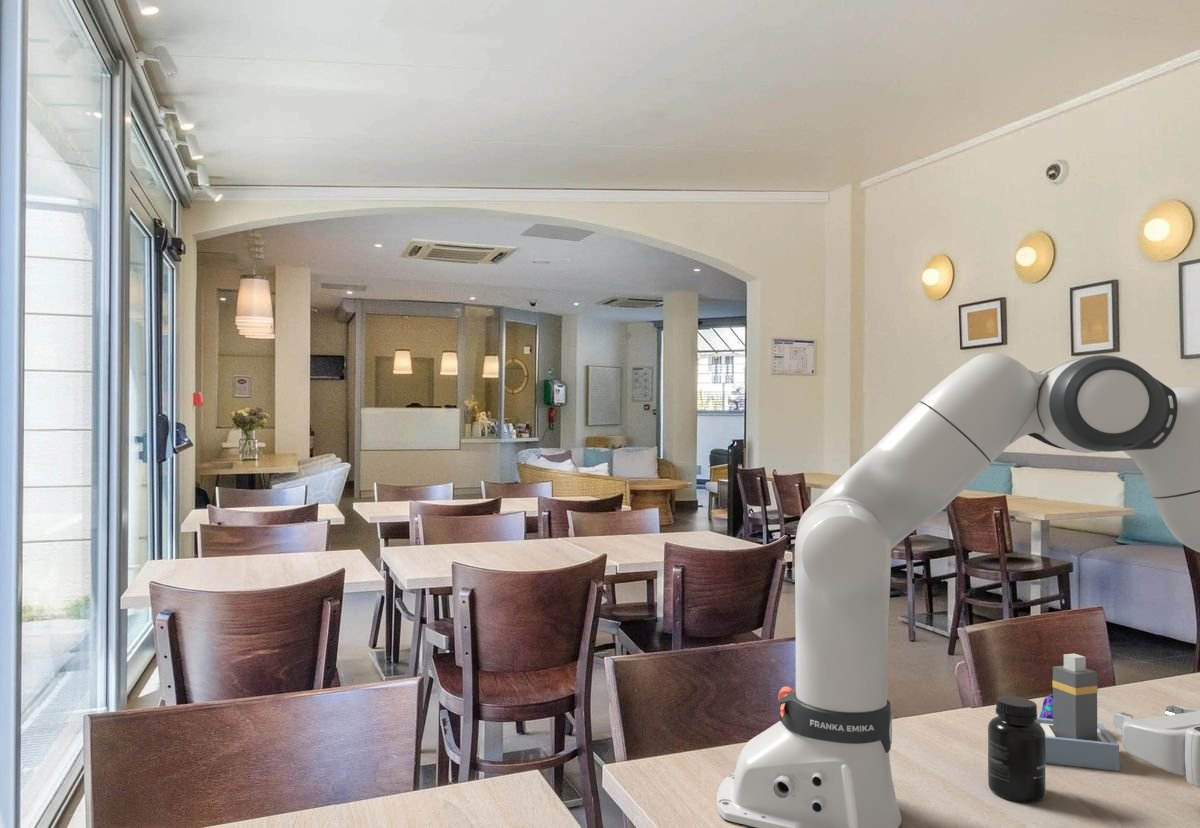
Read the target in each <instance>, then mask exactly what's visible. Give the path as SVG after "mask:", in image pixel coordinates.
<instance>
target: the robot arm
mask: <svg viewBox="0 0 1200 828" xmlns="http://www.w3.org/2000/svg"><path fill="white" fill-rule="evenodd" d="M1025 436H1029V437H1031V438H1033V439H1034V440H1038V441H1039V442H1042V443H1043V444H1046V445H1047V446H1051V447H1053V448H1056V449H1060V450H1066V451H1071V452H1075V453H1079V454H1081V453H1082V454H1083V453H1085V454H1090V453H1091V454H1092V453H1101V452H1104V453H1106V452H1107V453H1108V452H1109V453H1110V452H1111V453H1112V452H1114V453H1115V452H1124V453H1125V454H1126V455H1127V456H1129V457H1130V458H1131V460H1132V461H1133V462H1134V463H1135V464H1136V466H1137V467H1138V468H1139V470H1140V471H1142V475H1143V477H1144V480H1145V483H1146V485H1147V488H1148V490H1149V493H1150V494H1151V496H1152V499H1153V501H1154V504H1155V506H1156V509H1157V511H1158V513H1159V515H1160V517H1161V518H1162V521H1163V523H1164V525H1165V526H1166V527H1167V529H1168V531H1170V533H1171V534H1172V535H1173V537H1174V538H1175V539H1176V540H1177V541H1178V542H1179V543H1181V544H1182V545H1184V546H1185V547H1187V548H1190V549H1191V550H1193V551H1195V552H1197V553H1200V387H1199V386H1189V385H1188V386H1186V385H1185V386H1177V387H1169V386H1168V385H1166V384H1164V383H1163V382H1161V381H1160V380H1159V379H1157V378H1155V377H1154V376H1152V375H1151V374H1150V373H1149V372H1148V371H1147V370H1145V369H1144V368H1143V367H1141V366H1140V365H1138V364H1137V363H1135V362H1133V361H1131V360H1128V359H1126V358H1122V357H1119V356H1113V355H1104V354H1100V355H1092V356H1088V357H1084V358H1076V359H1072V360H1068V361H1066V362H1063V363H1061V364H1058V365H1055V366H1052V367H1050V368H1047V369H1045V370H1042V371H1039V372H1036V371H1033V370H1031V369H1028V367H1026V366H1025V365H1024V364H1022V362H1020V361H1019V360H1017V359H1015V358H1013V357H1011V356H1009V355H1005V354H1002V353H998V352H986V353H985V352H984V353H980V354H978V355H976V356H974V357H973V358H971V359H969V360H968V361H967V362H965V363H964V364H962V365H961V366H959V367H958V368H957V369H955V370H954V371H953V372H951V373H949V375H947V376H946V377H945V378H944V379H942V380H941V381H940V382H938V384H937V385H935V386H934V387H933V388H931V390H930V391H928V393H927V394H925V395H924V396H923V397H922V398H921V399H920V400H919V402H917V403H916V404H915V405H914V406H913V407H912V408H911V409H910V410H909V411H908V412H907V413H906V414H905V415H904V416H903V417H902V418H901V419H900V420H899V421H898V422H897V423H896V424H895V425H894V426H893V427H892V428H891V429H890V430H889V431H888V432H887V433H886V434H885V435H883V437H881V439H880V440H879V441H878V442H877V443H876V444H875V445H874V446H873V447H872V448H871V449H870V450H869V451H867V453H865V454H864V455H863V456H862V457H860V458H859V460H858V461H856V462H855V463H854V464H853V465H852V466H851V467H849V469H847V471H846V472H845V473H844V474H842V475H841V476H840V477H839V478H837V480H836V481H835V482H834V483H833V484H832V485H831V486H829V488H827V489H826V490H825V491H824V492H823V494H821V495H820V496H819V497H817V499H816V500H815V501H814V502H813V503H812V504H811V505H810V506H808V508H807V509H806V510H805V511H804V512H803V514H801V517H800V519H799V521H798V524H797V529H796V535H795V541H794V542H795V543H794V582H795V583H794V587H795V588H794V590H795V591H794V597H795V598H794V599H795V600H794V602H795V603H794V604H795V606H794V607H795V613H794V614H795V690H793V688H791V687H790V686H783V687H781V689H779V692H778V697H777V699H778V701H779V705H778V717H779V718H778V719H779V721H777V722H776V723H774V724H773V725H770V727H768V728H766V729H765V730H763V731H762V732H761V733H759V734H757V735H756V736H754V737H752V738H751V739H750V740H748V742H747V743H746V744H745V745H744V746H743V747H742V748H741V749H742V750H741V751H740V753H739V755H738V758H737V762H736V766H735V770H734V772H732V773H730V774H728V775H727V776H726V777H725V778H724V779H723V780H722V782H721V783H720V785H719V788H718V789H717V794H716V802H715V804H716V809H717V813H718V814H719V815H720V816H721V818H723V820H726V821H729V822H732V823H736V824H742V825H745V826H749V827H754V828H899V827H900V825H901V824H902V820H903V819H902V813H901V810H900V807H899V804H898V801H897V796H896V792H895V788H894V781H893V774H892V768H891V759H890V757H891V756H890V750H891V747H892V743H893V712H892V707H891V702H890V701H889V700H888V628H889V617H890V616H889V615H890V614H889V613H890V598H891V595H890V594H891V574H892V573H891V572H892V570H891V568H892V549H893V548H895V547H896V546H897V545H898V544H900V543H901V542H902V541H903V540H904V539H905V538H907V537H908V536H909V535H911V534H912V533H913V532H914V531H916V530H918V528H920V527H921V526H922V525H923V524H925V523H926V522H928V521H930V520H931V518H933V517H934V516H936V515H937V514H939V513H941V512H942V511H943V510H944V509H945V508H946V507H947V506H948V505H950V503H952V502H953V500H954V499H955V498H957V497H958V496H959V495H960V494H961V493H962V492H964V490H965V489H967V487H968V486H970V484H971V483H972V482H974V481H975V479H977V477H978V476H980V474H982V472H984V471H985V470H986V469H987V468H988V467H989V466H990V465H991V464H992V463H993V462H994V461H995V460H996V459H997V458H998V457H999V456H1000V455H1001V454H1002V453H1003V452H1004V451H1005V449H1007V448H1008V447H1009V446H1010V445H1012V444H1013V443H1015V442H1016V441H1017V440H1020V439H1021V438H1022V437H1025ZM1165 711H1166V712H1165V715H1161V716H1160V715H1159V716H1154V717H1146V718H1139V719H1138V718H1137V719H1134V715H1132V714H1129V713H1126V712H1115V713H1113V715H1112V725H1113V726H1114V727H1115V728H1117V729H1120V730H1121V744H1122V747H1123V749H1124V751H1125V752H1126V753H1128V754H1129V755H1130V756H1132V757H1135V758H1136V759H1138V760H1140V761H1143V762H1145V763H1147V764H1150V765H1152V766H1154V767H1156V768H1159V769H1161V770H1163V771H1166V772H1168V773H1172V774H1175V775H1181V776H1185V779H1186V783H1188V784H1190V785H1192V786H1195V787H1197V788H1200V709H1197V708H1189V707H1184V706H1181V705H1177V704H1173V705H1168V706H1166V707H1165Z"/></svg>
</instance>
